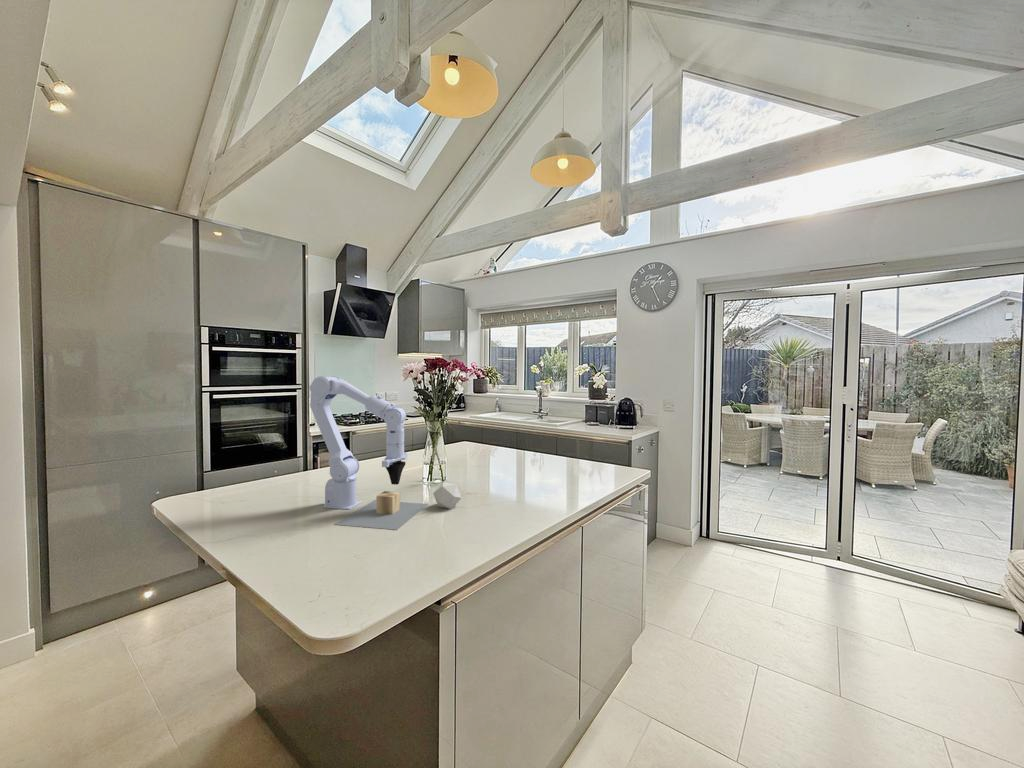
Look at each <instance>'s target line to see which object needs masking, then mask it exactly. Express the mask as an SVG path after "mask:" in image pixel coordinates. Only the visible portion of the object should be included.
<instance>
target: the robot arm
mask: <svg viewBox="0 0 1024 768" xmlns="http://www.w3.org/2000/svg"><path fill="white" fill-rule="evenodd" d="M309 391H310V401H309V406H310V410H311V412H312V414H313V416H314V419H315V421H316V423H317V426H318V429H319V431H320V434H321V436H322V439H323V441H324V443H325V445H326V449H327V450H328V453H329V458H328V462H327V463H328V465H329V475H330V476H331V478H330V479H328V480H327V481H326V483H325V486H324V505H323V508H325V509H339V510H351V509H353V508H354V507H356V506H357V505H359V504H361V503H362V500H357V473H358V472H359V470H360V462H359V460H358V459H357V458H356V457H354V455H353V452H352V451H350V450H349V449H348V448H347V446H346V445H345V441H344V439H343V436H342V435H341V432H340V429H339V427H338V424H337V422H336V420H335V418H334V416H333V415H334V414H333V413H332V410H331V408H330V404H331V403H332V401H333V400H334V398H336V396H337V395H344V396H346V397H348V398H350V399H352V400H355V401H356V402H358V403H361V404H362V405H363V406H364V407H365V410H366V411H367V412H369V413H370V414H372V415H375V416H376V417H378V418H380V419H381V420H383V422H384V423H385V424H386V432H385V433H386V436H385V437H386V439H385V440H386V446H385V447H386V456H385V458H384V459H383V460H381V468H385V469H386V471H387V472H388V475H389V479H390V484H391V485H396V486H397V485H399V484H400V481H401V476H402V472H403V470H404V468H405V466H406V461H405V460H408V452H405V421H406V419H407V412H406V411H405V409H404V408H402V406H399V405H398V406H396V405H395V403H393V402H392V403H390V402H388V401H387V400H385V399H383V396H381V395H369V394H367V393H365V392H363V391H362V390H360V389H359V388H357V387H356V386H354V385H352V384H351V383H350V382H348V381H346V380H345V379H342V378H339V377H338V376H335V375H332V376H331V375H330V376H317V377H315V378H314V379H313V381H312V382H311V384H310V385H309ZM403 460H404V461H403Z"/></svg>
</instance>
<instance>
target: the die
mask: <svg viewBox="0 0 1024 768" xmlns="http://www.w3.org/2000/svg"><path fill="white" fill-rule="evenodd" d="M432 494H433V497H434V500H435V503H436V505H437V507H439V508H443V509H449V510H452V509H454V507H455V506H456V505H457V504H458V503H459V501H460V500H461V499H462V495H461V493H460V491H459V488H458V485H457V483H456V484H455V483H450V482H442V484H441V483H440V486H438V488H437V489H436V490H435V491H434V492H433V493H432Z"/></svg>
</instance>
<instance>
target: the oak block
mask: <svg viewBox="0 0 1024 768" xmlns="http://www.w3.org/2000/svg"><path fill="white" fill-rule="evenodd" d="M375 500H376V513H382V514H394V513H395V512H396V511H398V510H399V509H400V502H401V491H390V490H389V491H388V490H387V491H386V490H384V491H382V492H381V493H379V494H378V495H376V499H375Z"/></svg>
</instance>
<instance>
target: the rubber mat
mask: <svg viewBox="0 0 1024 768" xmlns="http://www.w3.org/2000/svg"><path fill="white" fill-rule="evenodd" d="M428 505H429V503H421V502H420V503H419V502H408V501H407V502H406V501H404V502H403V501H400V509H399V510H398V511H396V512H395V513H394V514H382V513H376V499H375V500H372V501H371V502H369V503H367V504H365V505H364V506H362V507H361V508H359V509H357V510H355V511H354V512H352V513H351V514H349V515H347V516H345V517H343V519H341V520H339V521H337V522H335V523H334V524H333V525H334V526H339V527H340V526H341V527H352V528H353V527H354V528H364V529H376V530H377V529H378V530H389V531H398V530H399V529H400V528H402V526H404V525H405V524H406V523H408V522H409V521H410V520H411V519H413V518H414V517H415V516H416V515H418V514H419V513H420V512H421V511H422V510H424V509H425V508H426V507H427V506H428Z"/></svg>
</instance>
